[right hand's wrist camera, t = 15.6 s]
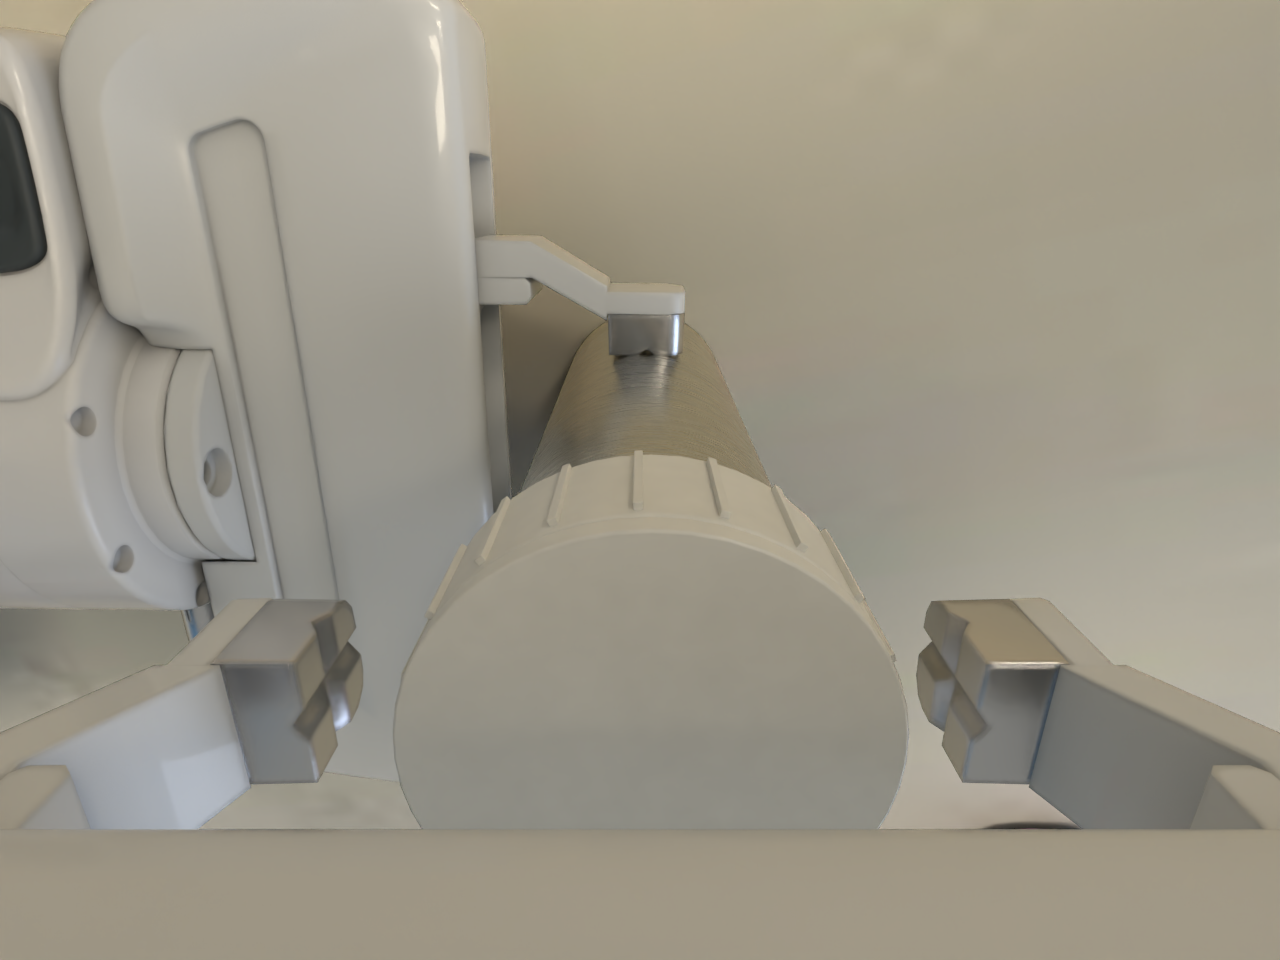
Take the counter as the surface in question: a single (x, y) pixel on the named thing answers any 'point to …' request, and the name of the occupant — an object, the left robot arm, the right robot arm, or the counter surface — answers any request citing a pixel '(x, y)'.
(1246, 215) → the counter surface
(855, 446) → the counter surface
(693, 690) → the lid
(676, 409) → the jar
